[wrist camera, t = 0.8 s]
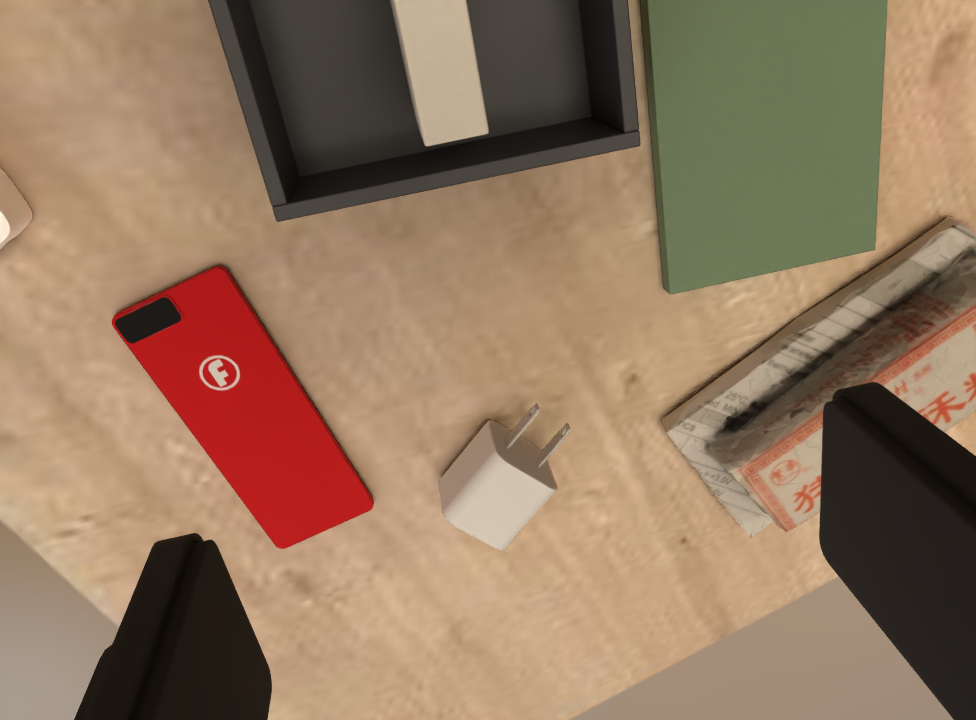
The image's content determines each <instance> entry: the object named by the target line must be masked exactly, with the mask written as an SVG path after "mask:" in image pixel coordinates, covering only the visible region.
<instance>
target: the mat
mask: <svg viewBox="0 0 976 720" xmlns="http://www.w3.org/2000/svg"><path fill="white" fill-rule="evenodd" d="M640 4H641V16H642V29H643V41H644V53H645V66H646V78H647V91H648V103H649V115H650V128H651V140H652V152H653V165H654V177H655V190H656V202H657V214H658V227H659V239H660V252H661V264H662V276H663V288H664V289H665V290H666V291H667V292H668V293H669V294H675V293H680V292H685V291H689V290H694V289H698V288H703V287H707V286H712V285H717V284H721V283H726V282H730V281H735V280H740V279H744V278H749V277H753V276H758V275H762V274H767V273H772V272H776V271H781V270H785V269H790V268H794V267H799V266H804V265H808V264H813V263H817V262H822V261H826V260H831V259H836V258H840V257H845V256H849V255H854V254H858V253H863V252H868V251H872V250H875V241H876V221H877V201H878V181H879V161H880V141H881V121H882V101H883V81H884V61H885V40H886V20H887V0H640Z"/></svg>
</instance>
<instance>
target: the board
mask: <svg viewBox="0 0 976 720" xmlns="http://www.w3.org/2000/svg"><path fill="white" fill-rule="evenodd" d="M390 3H391V7H392V12H393V17H394V21H395V26H396V31H397V36H398V40H399V45H400V50H401V54H402V59H403V64H404V68H405V73H406V78H407V83H408V87H409V92H410V97H411V101H412V106H413V111H414V115H415V118H416V121H417V124H418V127H419V130H420V133H421V136H422V139H423V142H424V144H425V146H432V145H437V144H441V143H446V142H451V141H456V140H461V139H466V138H470V137H475V136H480V135H485V134H488V132H489V129H488V123H487V117H486V112H485V106H484V100H483V94H482V89H481V83H480V77H479V71H478V65H477V60H476V54H475V48H474V42H473V36H472V31H471V25H470V19H469V13H468V7H467V2H466V0H390Z"/></svg>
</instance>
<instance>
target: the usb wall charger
mask: <svg viewBox="0 0 976 720" xmlns="http://www.w3.org/2000/svg"><path fill="white" fill-rule="evenodd" d="M534 410H535V412H534V414H533V415H532V416H531V414H532V412H533V411H534ZM539 411H540V409H539V407H538V404H537V403H536V404H535V405H534V406H533V407H532V408H531V409H530V410H529V411H528V412H527V414H526V415H525V416H524V417H523V418H522V419H521V421H520V422H519V423H518V424H517V425H516V427H515V428H514V429H513V430H512V431H510V430H508V429H507V428H505V427H503V426H502V425H500V424H498V423H497V422H495V421H492V420H488V421H487V423H486V424H485V425H484V426H483V427H482V429H481V430H480V431H479V432H478V434H477V435H476V436H475V437H474V438H473V440H472V441H471V442H470V443H469V444H468V446H467V447H466V448H465V449H464V451H463V452H462V453H461V454H460V455H459V457H458V458H457V459H456V460H455V462H454V463H453V464H452V465H451V466H450V468H449V469H448V470H447V471H446V473H445V474H444V475H443V476H442V477H441V479H440V480H439V490H440V498H441V506H442V513H443V515H444V517H445V518H446V519H447V521H448V522H449V523H451V524H452V525H453V526H455V527H457V528H459V529H460V530H462V531H464V532H466V533H468V534H470V535H472V536H474V537H475V538H477V539H479V540H481V541H483V542H485V543H487V544H489V545H490V546H492V547H494V548H496V549H498V550H504V549H505V548H506V546H507V545H508V544H509V543H510V542H511V541H512V540H513V538H514V537H515V536H516V535H517V534H518V533H519V532H520V530H521V529H522V528H523V527H524V526H525V525H526V524H527V523H528V521H529V520H530V519H531V518H532V517H533V516H534V515H535V513H536V512H537V511H538V510H539V509H540V508H541V507H542V506H543V504H544V503H545V502H546V501H547V500H548V499H549V498H550V496H551V495H552V494H553V493H554V492H555V491H556V490H557V484H556V481H555V479H554V476H553V473H552V471H551V468H550V465H549V463H548V460H547V459H548V458H549V457H550V456H551V454H552V453H553V452H554V451H555V450H556V449H557V447H558V446H559V445H560V444H561V443H562V441H563V440H564V439H565V438H566V436H567V435H568V434H569V433H570V431H571V428H570V426H569V424H568V423H566V424H565V425H564V426H563V427H562V428H561V429H560V431H559V432H558V433H557V434H556V435H555V436H554V437H553V438H552V440H551V441H550V442H549V443H548V444H547V445H546V447H545V448H544V449H543V450H542V451H541V450H540V449H539V448H537V447H536V446H535V445H533V444H531V443H530V442H528V441H526V440H525V439H523V438H521V437H520V435H521V434H522V433H523V431H524V430H525V429H526V428H527V427H528V425H529V424H530V423H531V422H532V420H533V419H534V418H535V417H536V415H537V414H538V413H539ZM565 429H566V432H565V434H564V435H562V433H563V431H564V430H565Z"/></svg>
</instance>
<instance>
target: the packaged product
mask: <svg viewBox="0 0 976 720" xmlns="http://www.w3.org/2000/svg"><path fill="white" fill-rule="evenodd" d="M869 382H877V383H879V384H881V385H883V386H884V387H885V388H887V389H888V390H889V391H891V392H892V393H893V394H895V395H896V396H897V397H898V398H900V399H901V400H902V401H904V402H905V403H906V404H908V405H909V406H910V407H912V408H913V409H914V410H916V411H917V412H918V413H919V414H921V415H922V416H923V417H925V418H926V419H927V420H929V421H930V422H931V423H933V424H934V425H935V426H937V427H938V428H939V429H940V430H942V431H943V432H945V431H946V430H947V429H948V428H950V427H952V426H954V425H955V424H957V423H958V422H960V421H962V420H963V419H965V418H966V417H968V416H969V415H970V414H972V413H973V412H975V411H976V238H975V236H974V232H973V231H972V230H971V229H970V228H969V227H968V226H967V225H966V224H965V223H964V222H963V221H960V220H957V219H954V218H951V217H947V218H946V219H944V220H943V221H942V222H940V223H939V224H938V225H936V226H935V227H933V228H932V229H931V230H929V231H928V232H926V233H925V234H924V235H922V236H921V237H920V238H918V239H917V240H915V241H914V242H913V243H911V244H910V245H909V246H907V247H906V248H904V249H903V250H902V251H900V252H899V253H897V254H896V255H894V256H893V257H891V258H889V259H888V260H886V261H885V262H883V263H882V264H880V265H879V266H877V267H876V268H874V269H873V270H871V271H869V272H868V273H866V274H865V275H863V276H862V277H860V278H859V279H857V280H856V281H854V282H853V283H851V284H849V285H848V286H846V287H845V288H843V289H842V290H840V291H839V292H837V293H836V294H834V295H832V296H831V297H829V298H828V299H826V300H825V301H823V302H821V303H820V304H818V305H817V306H815V307H814V308H812V309H810V310H809V311H807V312H806V313H804V314H803V315H801V316H799V317H798V318H796V319H795V320H794V321H792V322H791V323H790V324H789V325H787V326H786V327H785V328H784V329H782V330H781V331H780V332H779V333H777V334H776V335H775V336H774V337H772V338H771V339H770V340H769V341H767V342H766V343H765V344H764V345H762V346H761V347H760V348H758V349H757V350H756V351H755V352H753V353H752V354H750V355H749V356H748V357H746V358H745V359H744V360H742V361H741V362H740V363H738V364H737V365H735V366H734V367H733V368H731V369H730V370H729V371H727V372H726V373H725V374H723V375H722V376H720V377H719V378H718V379H716V380H715V381H714V382H712V383H711V384H710V385H708V386H707V387H705V388H704V389H703V390H701V391H700V392H699V393H697V394H696V395H695V396H693V397H692V398H690V399H689V400H688V401H686V402H685V403H684V404H682V405H681V406H680V407H678V408H677V409H675V410H674V411H673V412H671V413H670V414H669V415H667V416H666V417H665V418H663V419H662V422H663V425H664V428H665V431H666V433H667V435H668V436H669V438H670V439H671V441H672V442H673V444H674V445H675V446H676V447H677V449H678V450H679V451H680V452H681V453H682V455H683V456H684V457H685V458H686V459H687V460H688V462H689V463H690V464H691V465H692V466H693V467H694V469H695V470H696V471H697V472H698V473H699V475H700V476H701V478H702V479H703V481H704V482H705V484H706V485H707V487H708V488H709V489H710V490H711V492H712V493H713V494H714V495H715V497H716V498H717V499H718V500H719V502H720V503H721V504H722V506H723V507H724V508H725V509H726V510H727V512H728V513H729V514H730V515H731V516H732V517H733V518H734V519H735V520H736V522H737V523H738V524H739V525H740V526H741V527H742V528H743V529H744V531H745V532H746V533H747V534H748V535H749V536H750V538H753V537H754V536H755V535H756V534H757V533H758V532H760V531H761V530H762V529H764V528H765V527H766V526H768V525H769V524H771V523H772V522H775V523H776V525H778V526H779V527H780V528H782V529H783V530H784V531H786V532H788V531H790V530H792V529H793V528H795V527H796V526H798V525H800V524H802V523H803V522H805V521H807V520H808V519H810V518H811V517H813V516H814V515H816V514H817V513H819V512H820V497H821V463H822V430H823V408H824V405H825V403H827V402H828V401H832V397H833V395H834V393H835V391H837V390H838V389H843V388H847V387H852V386H856V385H861V384H865V383H869Z"/></svg>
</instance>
